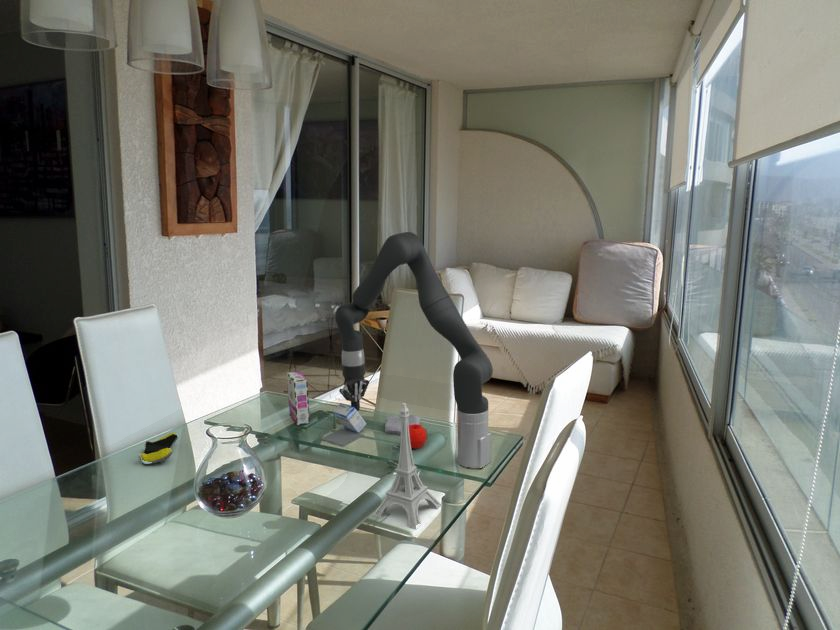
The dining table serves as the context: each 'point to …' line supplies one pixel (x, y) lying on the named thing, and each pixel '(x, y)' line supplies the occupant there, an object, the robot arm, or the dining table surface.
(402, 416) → the eiffel tower
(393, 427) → the stone block
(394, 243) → the robot arm
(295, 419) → the candy bar box
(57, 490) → the dining table surface
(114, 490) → the dining table surface
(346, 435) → the mat
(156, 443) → the yellow black curved piece
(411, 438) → the apple
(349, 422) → the medicine box
